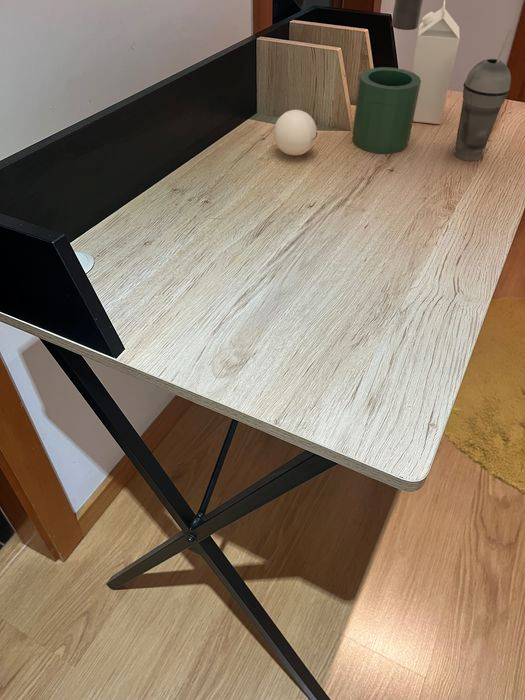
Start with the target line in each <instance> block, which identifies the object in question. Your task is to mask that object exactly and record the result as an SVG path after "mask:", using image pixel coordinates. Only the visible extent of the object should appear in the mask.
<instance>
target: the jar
mask: <svg viewBox="0 0 525 700" xmlns="http://www.w3.org/2000/svg"><path fill="white" fill-rule="evenodd" d="M420 84H421V80H420V77H419V76H417V75H416V74H414V73H413V72H411V70H406V69H403V68H397V67H388V66H387V67H385V66H379V67H372V68H369V69H366V70H363V71H362V72H361V73H360V74H359V79H358V87H357V96H356V104H355V112H354V117H353V119H354V120H353V127H352V139H351V141H352V143H353V145H354V146H356V147H357V148H358V149H360V150H363V151H364V152H368V153H374V154H378V155H379V154H380V155H384V154H385V155H388V154H396V153H399V152H402V151H404V150H405V149H407V147H408V145H409V141H410V137H411V135H412V134H411V133H412V129H413V124H414V121H413V119H414V114H415V109H416V104H417V99H418V94H419V89H420Z"/></svg>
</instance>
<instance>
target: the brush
mask: <svg viewBox="0 0 525 700" xmlns="http://www.w3.org/2000/svg"><path fill="white" fill-rule="evenodd" d="M423 1H424V0H394V7H393V12H392V19H391V24H390V25H391V27H392V28H394V29H397V30H400V31H401V30H403V31H413V30H416V29H418V28H419V23H420V17H421V11H422V7H423Z"/></svg>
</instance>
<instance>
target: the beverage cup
mask: <svg viewBox="0 0 525 700" xmlns="http://www.w3.org/2000/svg"><path fill="white" fill-rule="evenodd" d="M512 34H513V30H512V29H508V32H507V34H506V37H505V39H504V42H503V45H502V47H501V49H500V52H499V54H498V57H497V59H496V58H487V59H484V60H481V61H479V62H478V63H476V64H475V65H474V66H473V67H472V68H471V69H470V71H469V72H468V74H467V76H466V78H465V81H464V83H463V90H462V105H461V111H460V115H459V116H460V117H459V121H458V127H457V134H456V139H455V140H456V141H455V147H454V156H455V157H456V158H458V159H460V160H462V161H466V162H467V161H468V162H475V161H478V160H480V159H481V158H482V155H483V152H484V151H485V149H486V146H487V144H488V142H489V139H490V136H491V133H492V131H493V128H494V126H495V124H496V121H497V118H498V116H499V113H500V111H501V108H502V106H503V104H504V103H505V101H506V99H507V96H508V94H509V93H510V92H511V83H512V75H511V72H510V69H509V67H508V66H507V65H506V63H505V62H504V61H502V58H503V56H504V53H505V50H506V48H507V46H508V43H509V41H510V38H511V37H512Z"/></svg>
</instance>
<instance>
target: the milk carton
mask: <svg viewBox="0 0 525 700" xmlns="http://www.w3.org/2000/svg"><path fill="white" fill-rule="evenodd" d="M419 23H420V24H418V28H417V35H416V40H415V45H414V51H413V57H412V61H411V66H410V67H411V68H410V72H413V73H414V74H416V75H417V76H419V77H420V80H421V84H420V89H419V94H418V99H417V104H416V109H415V114H414V119H413V123H414V122H415V123H423V124H433V125H440V124H441V121H442V116H443V112H444V107H445V103H446V99H447V95H448V91H449V86H450V82H451V78H452V74H453V69H454V65H455V61H456V56H457V54H458V53H457V52H458V49H459V44H460V39H461V38H460V26H459V25H458V24H457V22H456V21H455V20H454V19H453V17H452V16H451V15H450V13H449V12H448V11H447V10H446V0H443V3H442V7H441V8H439V9H438V10H437V11H435V12H434V11H429V12H428V13H426V14H425V15H424V16H422V18H421V22H419Z"/></svg>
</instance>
